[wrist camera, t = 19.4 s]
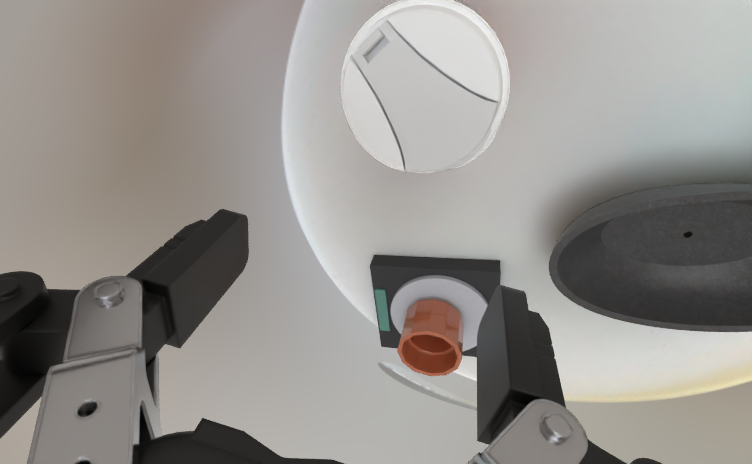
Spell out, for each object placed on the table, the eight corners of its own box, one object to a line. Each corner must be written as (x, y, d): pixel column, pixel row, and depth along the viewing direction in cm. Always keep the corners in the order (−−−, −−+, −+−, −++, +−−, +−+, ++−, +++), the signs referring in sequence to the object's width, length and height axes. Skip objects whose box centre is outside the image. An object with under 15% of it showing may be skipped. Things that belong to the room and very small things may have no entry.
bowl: (545, 162, 32) (557, 194, 27) (889, 150, 27) (985, 188, 22) (534, 276, 39) (542, 320, 33) (812, 287, 33) (873, 342, 28)
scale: (384, 334, 48) (380, 350, 46) (374, 254, 42) (368, 269, 40) (494, 345, 45) (494, 363, 42) (499, 260, 38) (500, 276, 36)
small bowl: (402, 329, 43) (393, 365, 39) (412, 289, 40) (404, 324, 36) (454, 344, 42) (451, 382, 38) (470, 305, 39) (468, 342, 35)
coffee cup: (372, 49, 31) (298, 89, 19) (455, -36, 27) (431, -57, 15) (436, 130, 33) (408, 213, 21) (523, 62, 29) (552, 117, 17)
